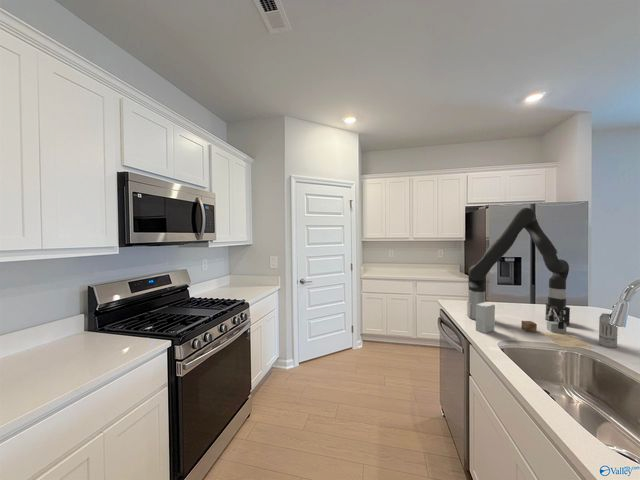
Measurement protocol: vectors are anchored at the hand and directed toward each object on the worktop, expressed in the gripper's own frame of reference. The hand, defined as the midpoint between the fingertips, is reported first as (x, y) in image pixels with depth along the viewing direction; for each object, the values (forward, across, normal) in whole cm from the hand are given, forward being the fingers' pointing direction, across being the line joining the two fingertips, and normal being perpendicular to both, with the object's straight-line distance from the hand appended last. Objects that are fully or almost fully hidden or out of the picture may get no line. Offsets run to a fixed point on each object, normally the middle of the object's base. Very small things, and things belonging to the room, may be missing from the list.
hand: (555, 326), depth 151 cm
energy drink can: (+3, +17, +12) cm, 21 cm away
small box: (+3, -18, +10) cm, 21 cm away
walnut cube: (+3, +2, -14) cm, 14 cm away
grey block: (+3, 0, 0) cm, 3 cm away
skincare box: (+4, +6, -37) cm, 37 cm away
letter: (+3, +13, -3) cm, 13 cm away
